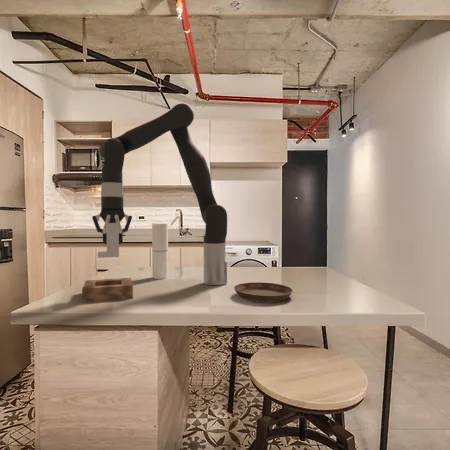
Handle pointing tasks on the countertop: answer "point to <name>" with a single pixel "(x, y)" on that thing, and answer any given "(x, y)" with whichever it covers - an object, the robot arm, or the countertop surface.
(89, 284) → the well block
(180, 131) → the robot arm
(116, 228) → the grey block
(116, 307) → the countertop surface
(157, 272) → the cylindrical container
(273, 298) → the plant saucer
